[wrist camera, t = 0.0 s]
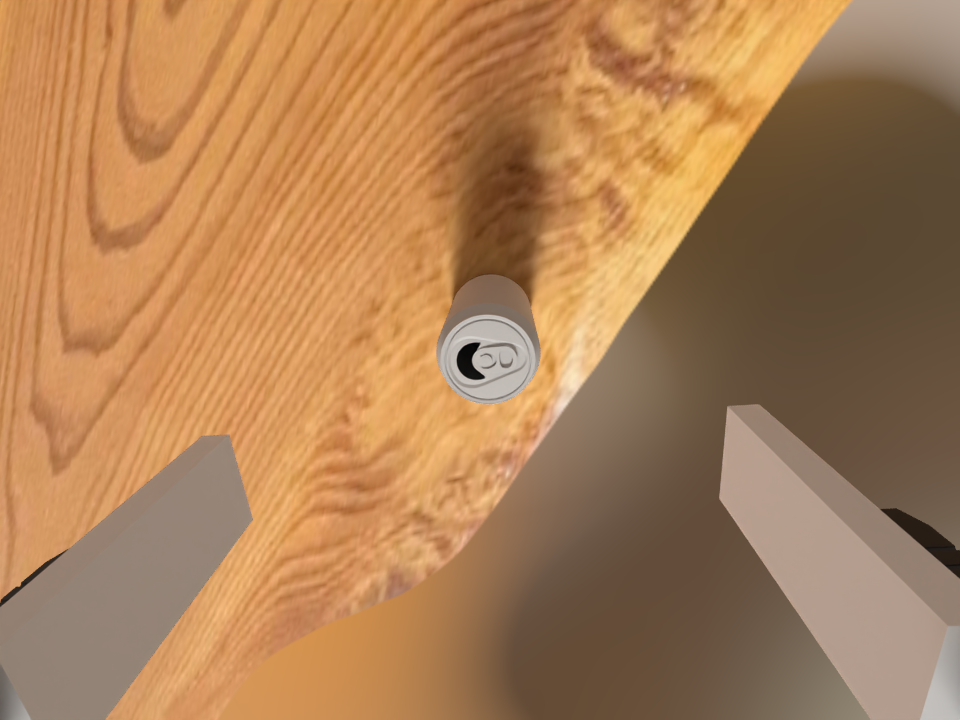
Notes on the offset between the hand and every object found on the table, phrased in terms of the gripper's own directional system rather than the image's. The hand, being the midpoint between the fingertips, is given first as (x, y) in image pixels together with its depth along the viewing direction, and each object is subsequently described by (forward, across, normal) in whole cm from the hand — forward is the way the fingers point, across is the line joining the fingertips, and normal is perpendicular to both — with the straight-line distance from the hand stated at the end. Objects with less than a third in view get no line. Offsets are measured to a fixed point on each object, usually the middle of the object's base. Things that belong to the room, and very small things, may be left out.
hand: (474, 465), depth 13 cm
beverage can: (+28, 0, -3) cm, 28 cm away
